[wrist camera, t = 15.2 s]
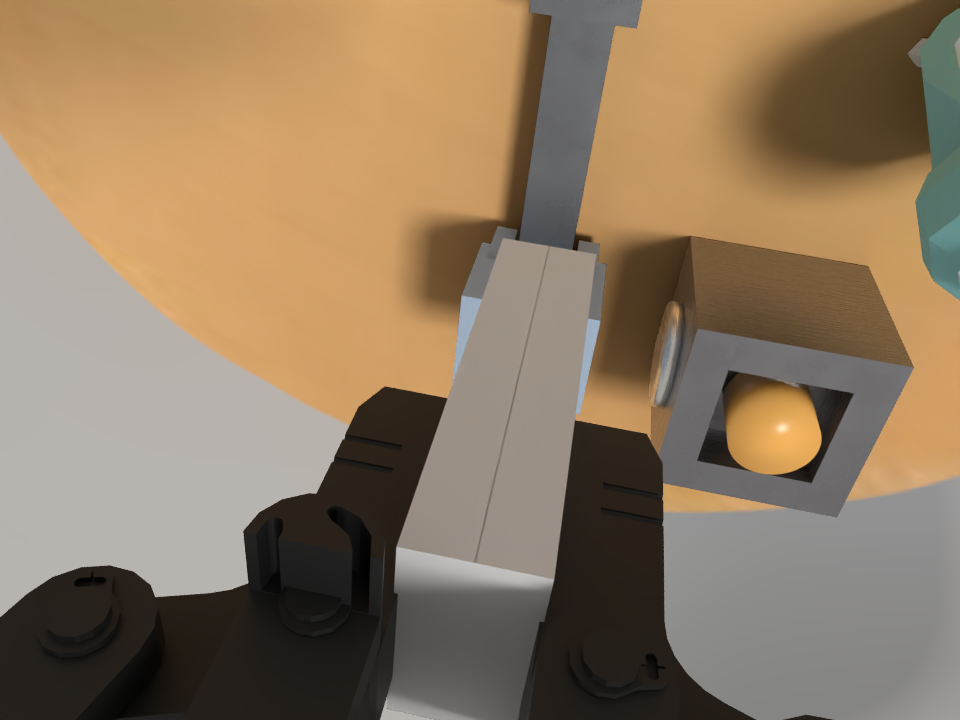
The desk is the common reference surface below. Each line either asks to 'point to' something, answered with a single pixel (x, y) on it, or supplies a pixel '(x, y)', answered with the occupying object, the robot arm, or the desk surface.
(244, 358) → the desk surface
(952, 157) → the alarm clock
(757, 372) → the cabinet
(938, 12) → the desk surface
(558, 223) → the rail
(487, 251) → the block
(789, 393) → the button
